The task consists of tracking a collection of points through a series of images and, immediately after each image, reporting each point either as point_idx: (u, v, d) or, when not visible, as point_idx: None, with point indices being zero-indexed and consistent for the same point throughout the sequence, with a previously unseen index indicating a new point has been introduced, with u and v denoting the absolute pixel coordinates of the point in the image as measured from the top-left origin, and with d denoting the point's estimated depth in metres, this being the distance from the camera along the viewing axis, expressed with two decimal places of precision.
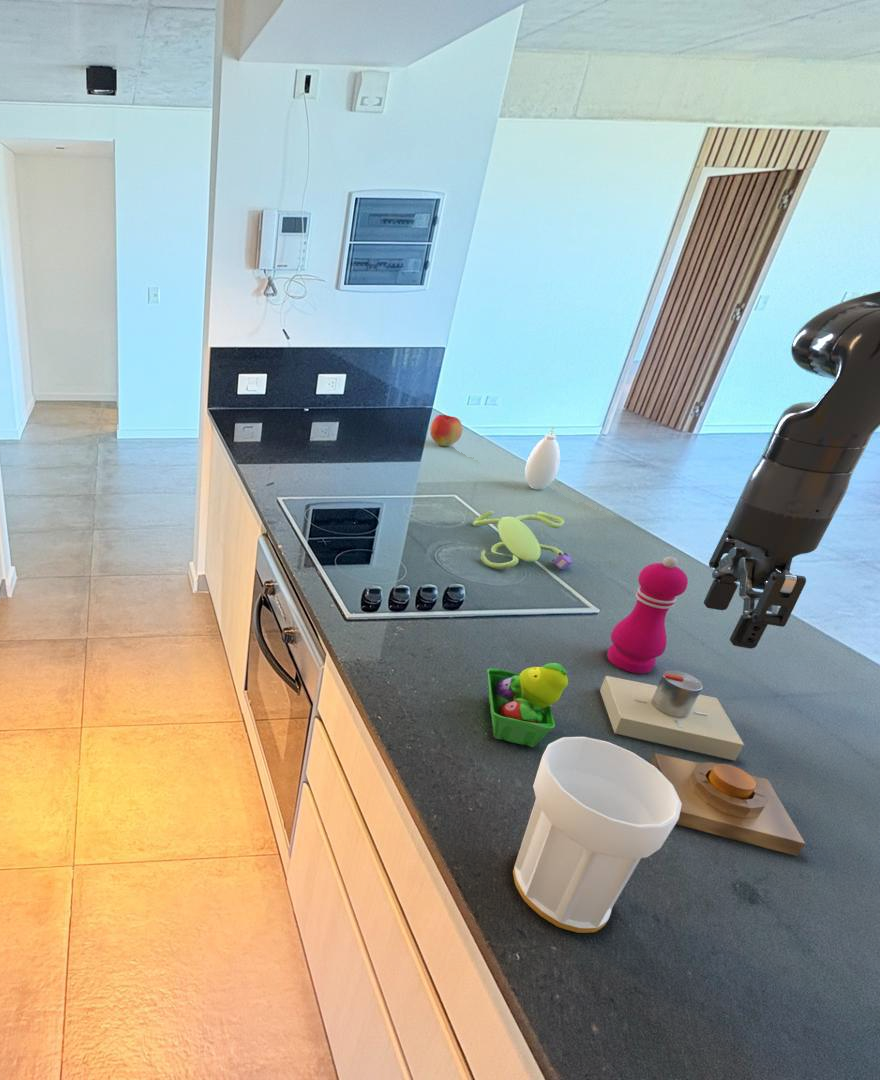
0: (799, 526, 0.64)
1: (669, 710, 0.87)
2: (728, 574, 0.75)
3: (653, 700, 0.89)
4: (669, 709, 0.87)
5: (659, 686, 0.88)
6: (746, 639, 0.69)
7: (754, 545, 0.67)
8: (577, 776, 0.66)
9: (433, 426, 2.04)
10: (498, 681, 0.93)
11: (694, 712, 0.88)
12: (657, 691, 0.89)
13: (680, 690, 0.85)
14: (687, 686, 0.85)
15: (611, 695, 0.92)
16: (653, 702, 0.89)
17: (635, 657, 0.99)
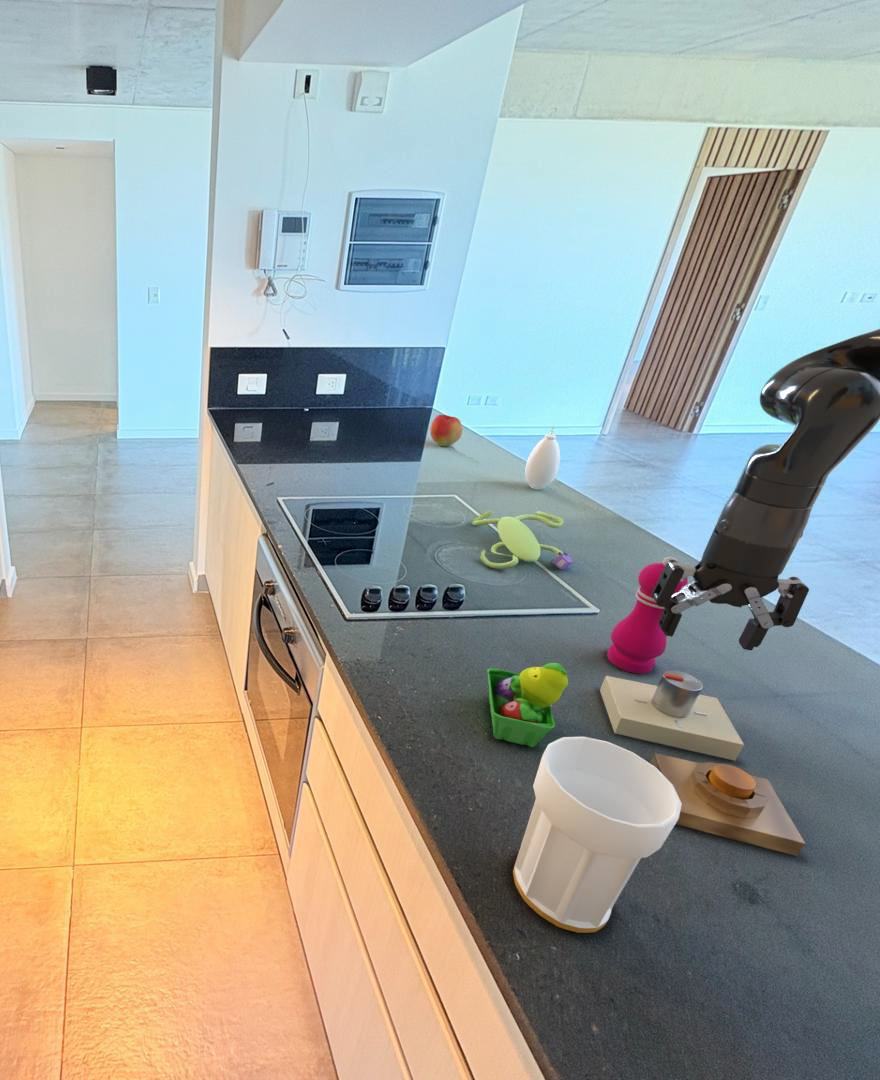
0: None
1: (669, 710, 0.87)
2: None
3: (653, 700, 0.89)
4: (669, 709, 0.87)
5: (659, 686, 0.88)
6: None
7: (778, 575, 0.74)
8: (577, 776, 0.66)
9: (433, 426, 2.04)
10: (498, 681, 0.93)
11: (694, 712, 0.88)
12: (657, 691, 0.89)
13: (680, 690, 0.85)
14: (687, 686, 0.85)
15: (611, 695, 0.92)
16: (653, 702, 0.89)
17: (635, 657, 0.99)
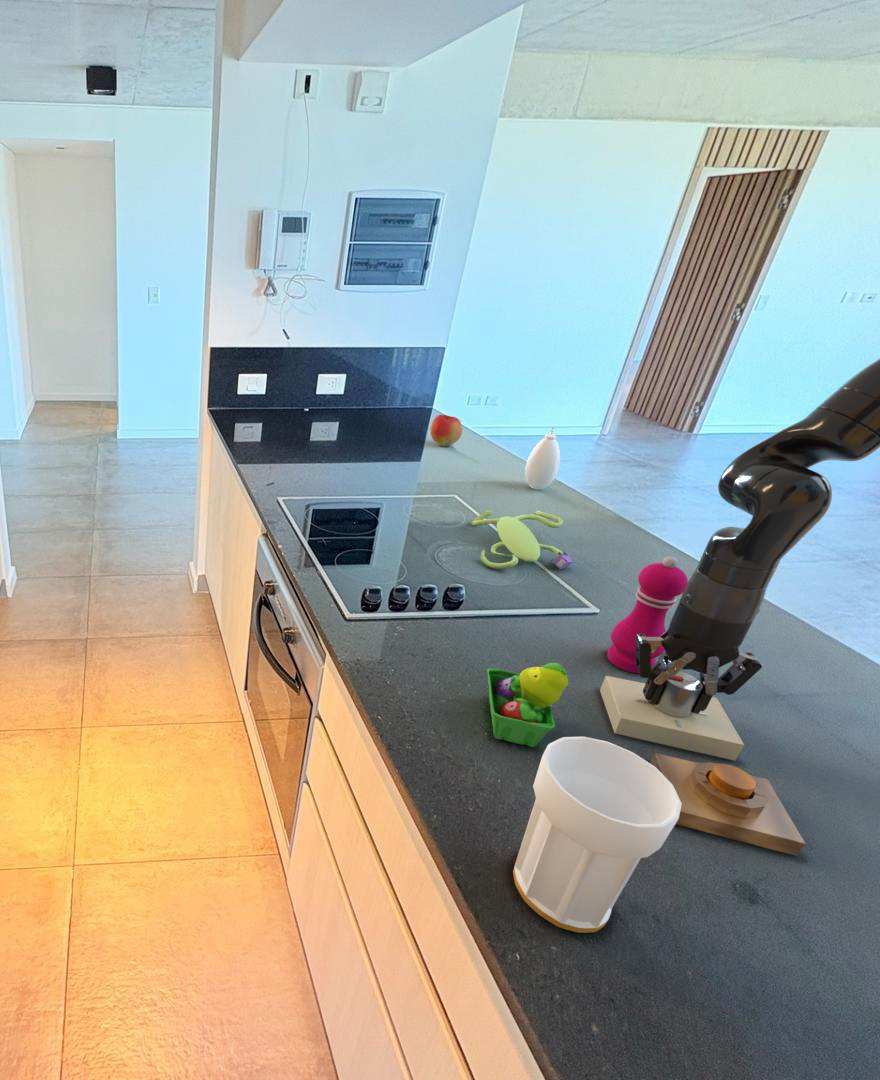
0: None
1: (669, 710, 0.87)
2: None
3: None
4: (669, 709, 0.87)
5: None
6: None
7: (737, 647, 0.80)
8: (577, 776, 0.66)
9: (433, 426, 2.04)
10: (498, 681, 0.93)
11: None
12: None
13: (680, 690, 0.85)
14: (687, 686, 0.85)
15: (611, 695, 0.92)
16: None
17: (635, 657, 0.99)
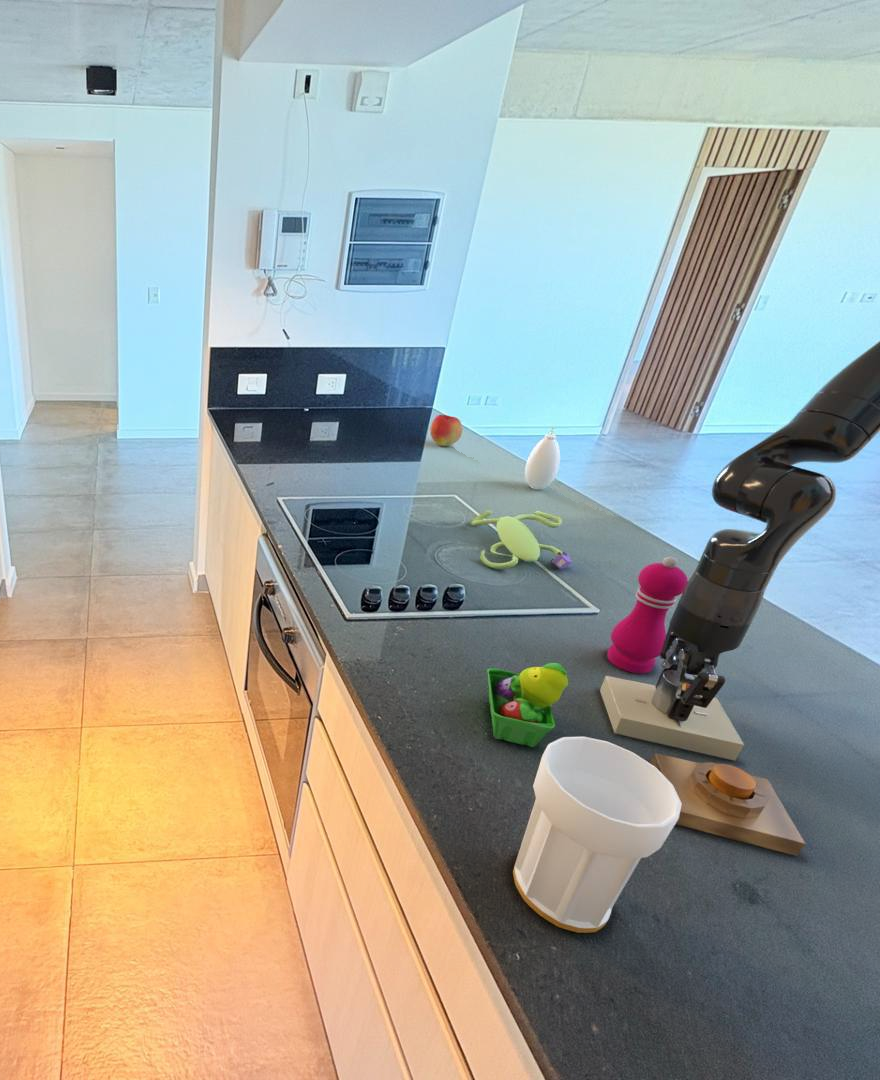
0: None
1: None
2: None
3: None
4: None
5: None
6: None
7: None
8: (577, 776, 0.66)
9: (433, 426, 2.04)
10: (498, 681, 0.93)
11: (694, 712, 0.88)
12: None
13: None
14: None
15: (611, 695, 0.92)
16: None
17: (635, 657, 0.99)
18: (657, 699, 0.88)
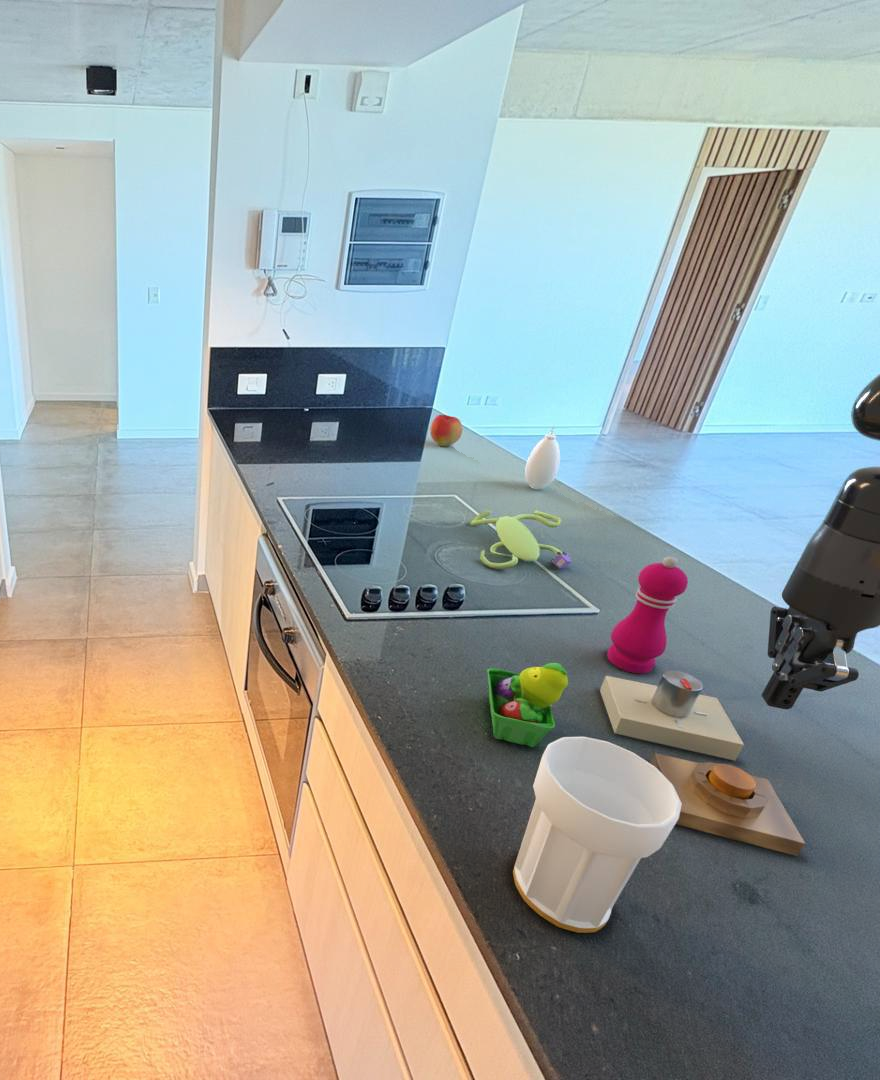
0: None
1: None
2: (796, 672, 0.67)
3: (677, 714, 0.87)
4: (691, 709, 0.87)
5: (683, 700, 0.86)
6: None
7: None
8: (577, 776, 0.66)
9: (433, 426, 2.04)
10: (498, 681, 0.93)
11: (694, 712, 0.88)
12: (682, 705, 0.86)
13: (701, 688, 0.86)
14: (695, 681, 0.86)
15: (611, 695, 0.92)
16: (679, 715, 0.87)
17: (635, 657, 0.99)
18: (657, 699, 0.88)
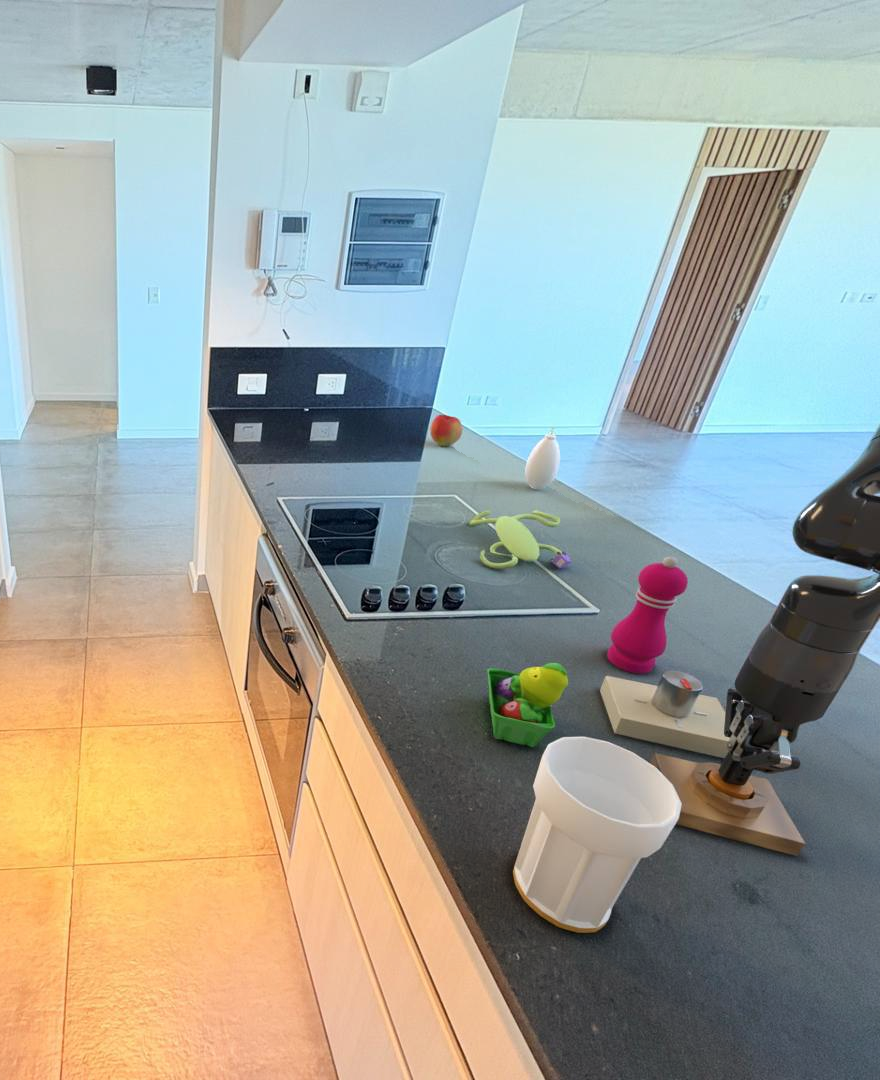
0: None
1: None
2: (748, 753, 0.73)
3: (677, 714, 0.87)
4: (691, 709, 0.87)
5: (683, 700, 0.86)
6: None
7: None
8: (577, 776, 0.66)
9: (433, 426, 2.04)
10: (498, 681, 0.93)
11: (694, 712, 0.88)
12: (682, 705, 0.86)
13: (701, 688, 0.86)
14: (695, 681, 0.86)
15: (611, 695, 0.92)
16: (679, 715, 0.87)
17: (635, 657, 0.99)
18: (657, 699, 0.88)
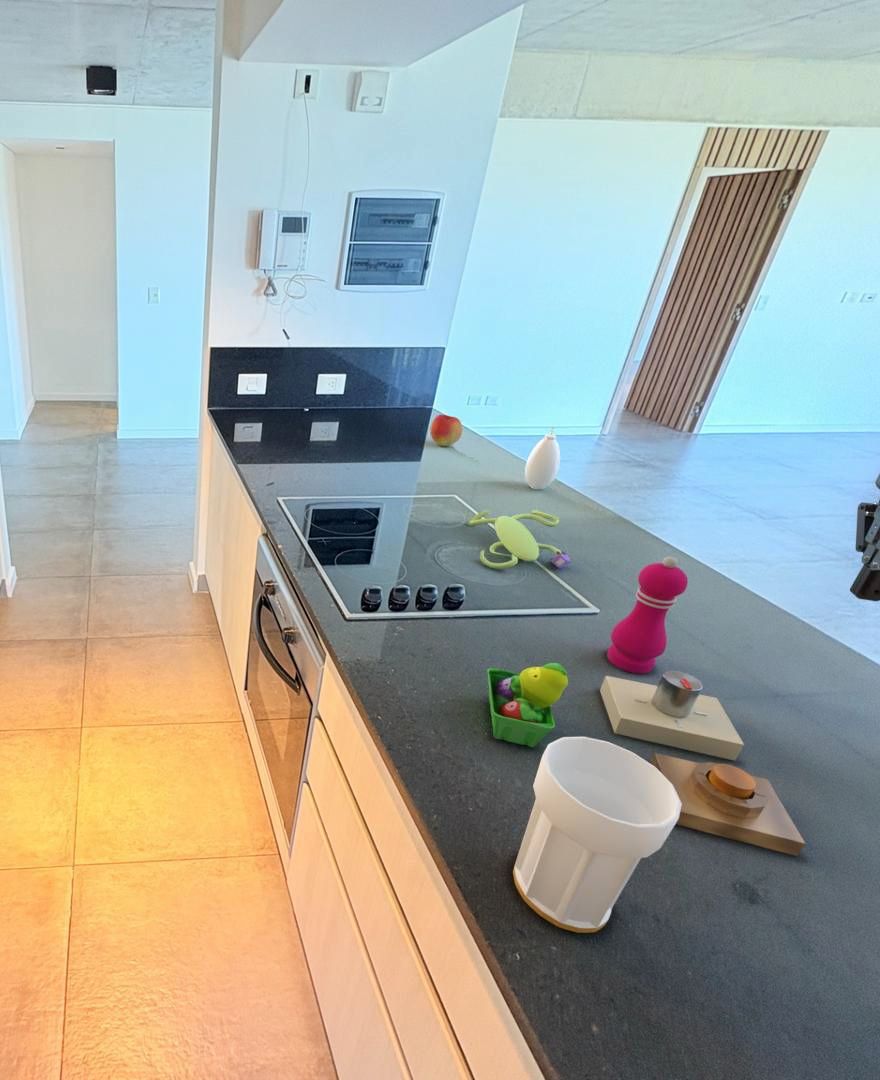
0: None
1: None
2: None
3: (677, 714, 0.87)
4: (691, 709, 0.87)
5: (683, 700, 0.86)
6: None
7: None
8: (577, 776, 0.66)
9: (433, 426, 2.04)
10: (498, 681, 0.93)
11: (694, 712, 0.88)
12: (682, 705, 0.86)
13: (701, 688, 0.86)
14: (695, 681, 0.86)
15: (611, 695, 0.92)
16: (679, 715, 0.87)
17: (635, 657, 0.99)
18: (657, 699, 0.88)
